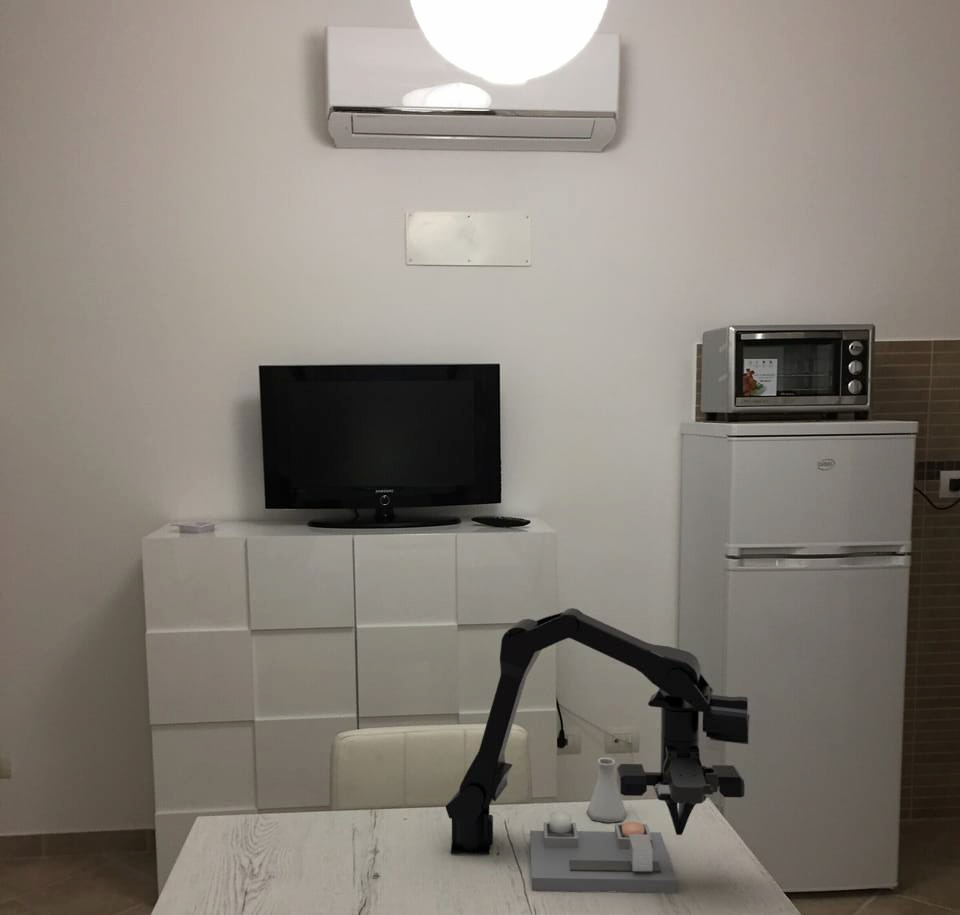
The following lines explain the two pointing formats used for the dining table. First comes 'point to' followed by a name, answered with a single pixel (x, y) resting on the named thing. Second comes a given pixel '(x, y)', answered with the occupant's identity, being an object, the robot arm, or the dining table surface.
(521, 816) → the dining table surface
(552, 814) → the grey button
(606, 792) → the flask
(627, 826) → the terracotta button
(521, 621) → the robot arm
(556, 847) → the panel
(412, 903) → the dining table surface
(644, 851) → the rough gray brick
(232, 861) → the dining table surface
